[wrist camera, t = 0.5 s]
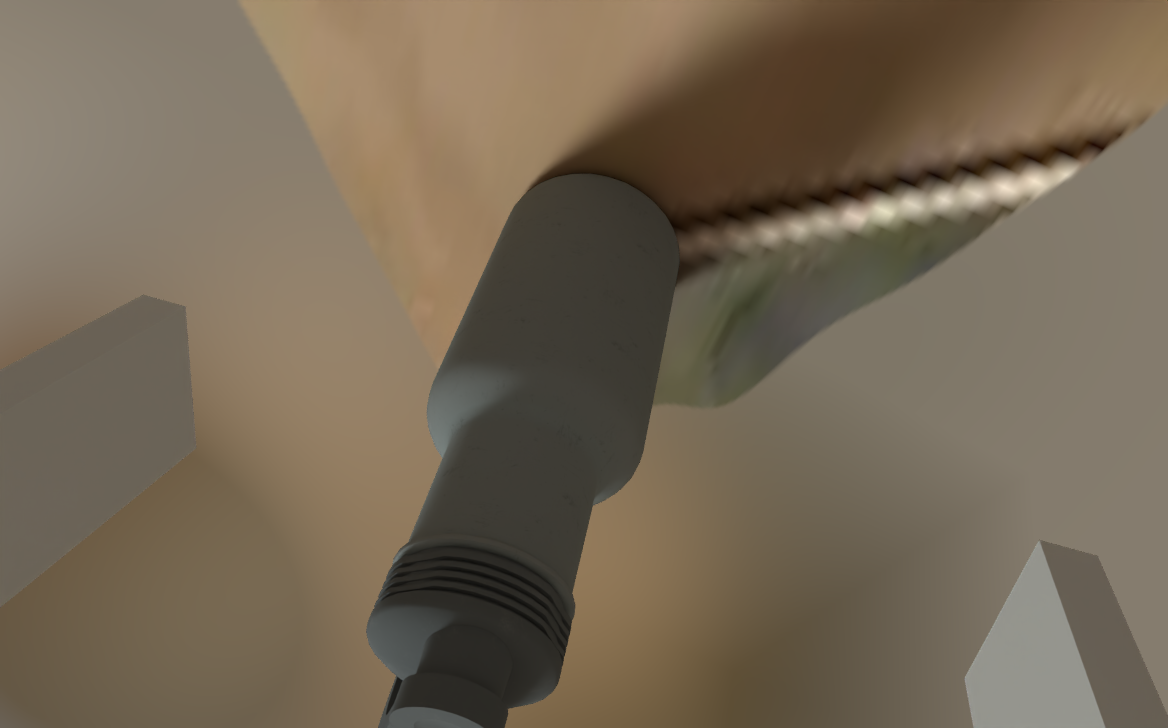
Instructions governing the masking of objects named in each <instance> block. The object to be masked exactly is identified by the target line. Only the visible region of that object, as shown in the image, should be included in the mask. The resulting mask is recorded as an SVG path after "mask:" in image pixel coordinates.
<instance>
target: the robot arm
mask: <svg viewBox="0 0 1168 728" xmlns="http://www.w3.org/2000/svg"><path fill="white" fill-rule="evenodd" d="M191 387H192V386H191V373H190V360H189V347H188V333H187V321H186V307H185V306H182V305H179V304H175V303H171V302H167V301H164V300H160V299H157V298H153V297H149V296H146V295H142V296H140V297H138V298H136V299H134V300H132V301H130V302H128V303H126V304H124V305H123V306H121V307H119V308H117V309H115V310H113V311H111V312H109V313H107V314H105V315H104V316H102V317H100V318H98V319H96V320H94V321H92V322H90V323H88V324H87V325H84V326H83V327H81V328H79V329H77V330H75V331H73V332H71V333H69V334H67V335H66V336H64V337H62V338H60V339H58V340H56V341H54V342H52V343H50V344H48V345H46V346H44V347H43V348H41V349H39V350H37V351H35V352H33V353H31V354H29V355H27V356H26V357H24V358H22V359H20V360H18V361H16V362H14V363H12V364H10V365H8V366H6V367H5V368H3V369H1V370H0V607H1V606H3V605H4V604H5V603H6V602H8V601H9V600H10V599H11V598H12V597H14V596H15V595H16V594H17V593H19V592H20V591H21V590H22V589H24V588H25V587H26V586H27V585H28V584H30V583H31V582H32V581H33V580H35V579H36V578H37V577H38V576H39V575H41V574H42V573H43V572H44V571H46V570H47V569H48V568H49V567H51V565H53V564H54V563H55V562H56V561H58V560H59V559H60V558H62V557H63V556H64V555H65V554H67V553H68V552H69V551H70V550H71V549H73V548H74V547H75V546H76V545H78V544H79V543H80V542H81V541H83V540H84V539H85V538H86V537H87V536H89V535H90V534H91V533H92V532H94V531H95V530H96V529H97V528H98V527H100V526H101V525H102V524H103V523H105V522H106V521H107V520H108V519H110V518H111V517H112V516H113V515H114V514H116V513H117V512H118V511H119V510H120V509H122V508H123V507H124V506H126V505H127V504H128V503H129V502H130V501H132V500H133V499H134V498H135V497H137V496H138V495H139V494H140V493H141V492H143V491H144V490H145V489H146V488H148V487H149V486H150V485H151V484H152V483H154V482H155V481H156V480H157V479H159V478H160V477H161V476H162V475H164V474H165V473H166V472H167V471H168V470H170V469H171V468H172V467H173V466H175V465H176V464H177V463H178V462H179V461H181V460H182V459H183V458H184V457H186V456H187V455H188V454H189V453H191V452H192V451H193V450H194V449H195V448H196V439H195V426H194V412H193V399H192V388H191ZM965 684H966V689H967V695H968V700H969V705H970V711H971V716H972V721H973V727H974V728H1168V715H1167V713H1166V711H1165V709H1164V706H1163V704H1162V702H1161V699H1160V697H1159V695H1158V693H1157V690H1156V688H1155V686H1154V683H1153V681H1152V679H1151V676H1150V674H1149V672H1148V670H1147V667H1146V665H1145V663H1144V661H1143V658H1142V656H1141V654H1140V651H1139V649H1138V647H1137V645H1136V642H1135V640H1134V638H1133V636H1132V633H1131V631H1130V629H1129V626H1128V624H1127V622H1126V619H1125V617H1124V615H1123V613H1122V610H1121V608H1120V606H1119V603H1118V601H1117V599H1116V597H1115V594H1114V593H1113V590H1112V587H1111V585H1110V583H1109V581H1108V578H1107V576H1106V574H1105V572H1104V569H1103V567H1102V565H1101V562H1100V560H1099V558H1098V556H1096V555H1093V554H1089V553H1085V552H1082V551H1078V550H1074V549H1071V548H1067V547H1063V546H1060V545H1056V544H1052V543H1048V542H1045V541H1041V540H1039V541H1038V543H1037V545H1036V547H1035V548H1034V550H1033V552H1032V554H1031V556H1030V558H1029V560H1028V561H1027V563H1026V565H1025V567H1024V569H1023V571H1022V573H1021V574H1020V576H1019V578H1018V580H1017V582H1016V584H1015V586H1014V588H1013V589H1012V591H1011V593H1010V595H1009V597H1008V599H1007V600H1006V602H1005V604H1004V606H1003V608H1002V610H1001V612H1000V613H999V615H998V617H997V619H996V621H995V623H994V625H993V627H992V628H991V630H990V632H989V634H988V636H987V638H986V639H985V641H984V643H983V645H982V647H981V649H980V651H979V652H978V654H977V656H976V658H975V660H974V662H973V664H972V665H971V667H970V669H969V671H968V673H967V675H966V677H965Z"/></svg>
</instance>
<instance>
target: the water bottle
mask: <svg viewBox="0 0 1168 728" xmlns="http://www.w3.org/2000/svg"><path fill="white" fill-rule="evenodd" d="M679 263H680V258H679V246H678V242H677V238H676V235H675V232H674V229H673V227H672V226H671V224H670V222H669V220H668V218H667V217H666V215H665V214H664V213H663V212H662V211H661V209H660V208H659V207H658V206H657V205H656V204H655V203H654V202H653V201H652V200H651V199H650V198H648V197H647V196H646V195H645V194H643V193H642V192H641V191H639V190H638V189H636V188H634V187H632V186H630V185H629V184H627V183H625V182H622V181H619V180H616V179H613V178H611V177H607V176H601V175H595V174H569V175H564V176H559V177H554V178H552V179H549V180H547V181H545V182H542V183H540V184H538V185H537V186H535V187H534V188H532V189H531V190H530V191H528V192H527V193H526V194H525V195H524V196H523V197H522V198H521V199H520V200H519V201H518V202H517V204H516V205H515V206H514V208H513V210H512V212H511V213H510V215H509V217H508V219H507V221H506V224H505V226H504V228H503V230H502V232H501V235H500V237H499V239H498V241H497V243H496V246H495V248H494V250H493V252H492V254H491V257H490V259H489V261H488V263H487V265H486V268H485V270H484V272H483V274H482V276H481V279H480V281H479V283H478V285H477V287H476V289H475V292H474V294H473V296H472V298H471V300H470V303H469V305H468V307H467V309H466V311H465V314H464V316H463V318H462V320H461V322H460V325H459V327H458V329H457V331H456V333H455V336H454V338H453V340H452V342H451V344H450V347H449V349H448V351H447V353H446V355H445V357H444V360H443V362H442V364H441V366H440V368H439V371H438V373H437V375H436V377H435V380H434V382H433V384H432V388H431V391H430V394H429V399H428V405H427V419H428V427H429V431H430V434H431V436H432V439H433V442H434V445H435V447H436V449H437V450H438V452H439V454H440V455H441V457H442V458H443V459H442V461H441V464H440V466H439V468H438V471H437V473H436V476H435V478H434V481H433V483H432V486H431V488H430V491H429V493H428V496H427V498H426V500H425V503H424V505H423V508H422V510H421V513H420V515H419V518H418V520H417V522H416V525H415V527H414V530H413V532H412V534H411V537H410V539H409V542H408V543H407V544H406V545H404V546H403V547H402V548H401V549H400V550H399V551H398V553H397V554H396V556H395V557H394V561H393V565H392V567H391V569H390V570H389V572H388V575H387V578H386V581H385V582H384V584H383V587H382V588H383V589H382V590H381V592H380V594H379V599H378V600H377V601H376V603H375V606H374V607H375V608H374V609H373V611H372V613H371V616H370V618H369V621H368V624H367V631H366V633H367V638H368V641H369V645H370V647H371V648H372V650H373V652H374V653H375V655H376V656H377V657H378V658H379V659H380V660H381V661H382V662H383V663H384V664H385V665H386V666H387V667H388V668H389V669H390V671H392V673H394V674H395V675H396V679H395V681H394V683H393V686H392V689H391V692H390V694H389V697H388V700H387V703H386V706H385V708H384V711H383V714H382V717H381V720H380V723H379V726H378V728H504V727H505V724H506V720H507V716H508V708H513V707H518V706H523V705H528V704H533V703H536V702H538V701H540V700H543V699H544V698H546V697H547V696H548V695H549V694H551V693H552V692H553V691H554V689H555V688H556V686H557V684H558V682H559V678H560V674H561V669H562V665H563V661H564V656H565V652H566V647H567V644H568V637H569V635H570V630H571V623H572V619H573V617H574V613H575V602H574V598H573V594H572V592H573V587H574V583H575V579H576V574H577V570H578V566H579V562H580V558H581V553H582V549H583V545H584V541H585V536H586V532H587V528H588V524H589V519H590V515H591V511H592V507H593V505H595V504H598V503H600V502H602V501H604V500H606V499H607V498H609V497H611V496H612V495H614V494H615V493H617V492H618V491H619V490H621V488H622V487H623V486H624V485H625V484H626V483H627V482H628V481H629V480H630V479H631V478H632V476H633V474H634V472H635V470H636V468H637V467H638V465H639V463H640V460H641V457H642V454H643V450H644V444H645V440H646V434H647V429H648V424H649V419H650V413H651V409H652V404H653V398H654V393H655V388H656V383H657V378H658V373H659V368H660V362H661V357H662V352H663V347H664V342H665V337H666V331H667V326H668V321H669V316H670V311H671V306H672V300H673V295H674V290H675V285H676V280H677V275H678V269H679Z"/></svg>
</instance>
